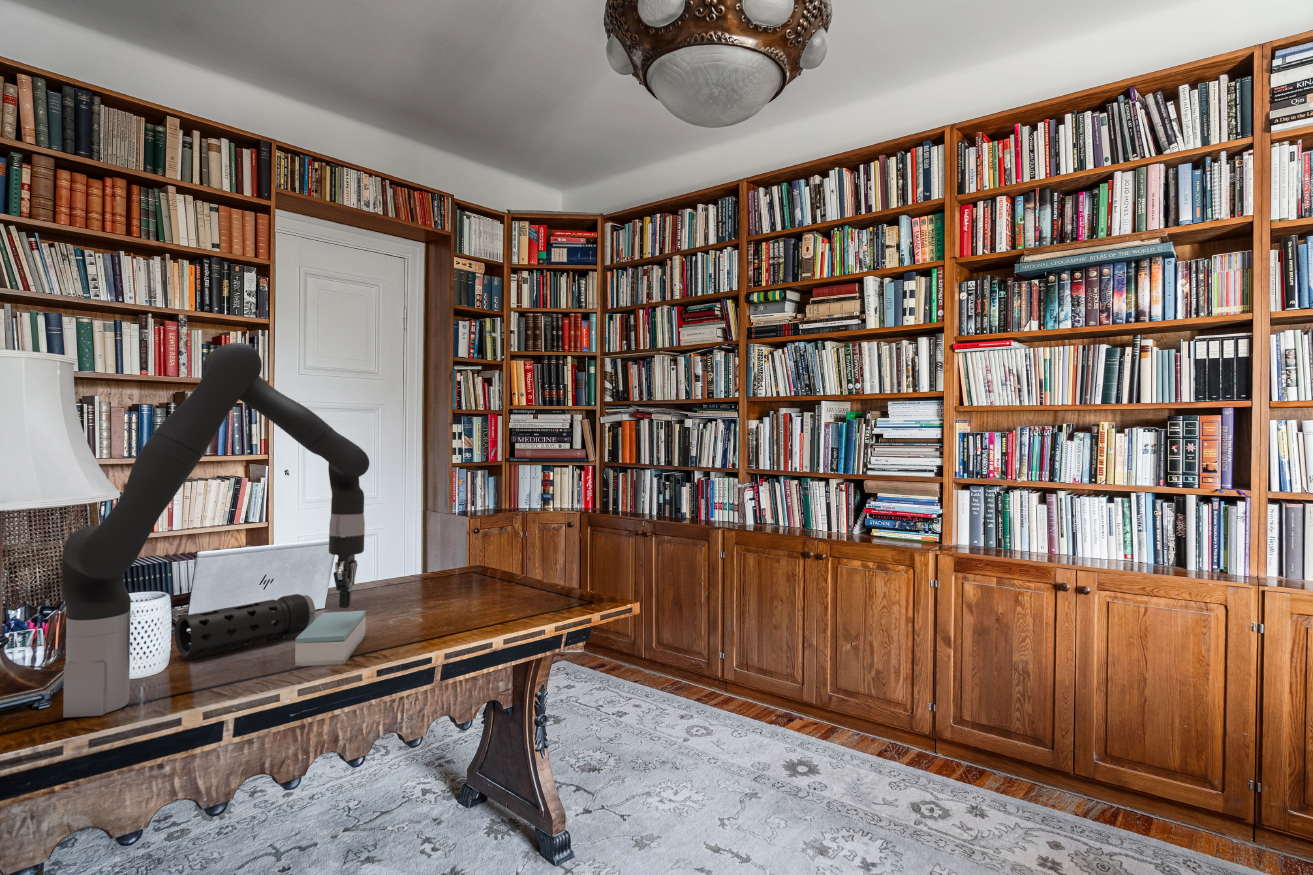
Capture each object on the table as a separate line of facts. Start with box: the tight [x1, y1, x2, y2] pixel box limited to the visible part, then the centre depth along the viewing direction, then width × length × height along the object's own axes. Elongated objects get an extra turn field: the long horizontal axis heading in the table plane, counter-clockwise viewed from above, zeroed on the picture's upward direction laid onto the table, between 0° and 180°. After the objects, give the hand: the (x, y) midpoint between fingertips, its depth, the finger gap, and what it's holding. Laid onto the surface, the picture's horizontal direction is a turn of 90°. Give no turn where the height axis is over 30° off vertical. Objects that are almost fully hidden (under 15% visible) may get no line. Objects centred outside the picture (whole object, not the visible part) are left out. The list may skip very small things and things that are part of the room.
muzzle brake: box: [174, 593, 316, 661], centre depth 166 cm, size 10×28×10 cm, turn 145°
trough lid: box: [294, 610, 367, 644], centre depth 164 cm, size 22×10×1 cm, turn 11°
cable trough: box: [294, 615, 367, 667], centre depth 164 cm, size 22×10×5 cm, turn 11°
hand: (344, 607), depth 163 cm, fingers closed
